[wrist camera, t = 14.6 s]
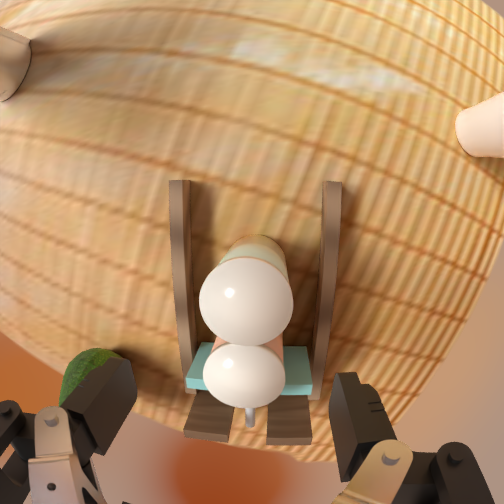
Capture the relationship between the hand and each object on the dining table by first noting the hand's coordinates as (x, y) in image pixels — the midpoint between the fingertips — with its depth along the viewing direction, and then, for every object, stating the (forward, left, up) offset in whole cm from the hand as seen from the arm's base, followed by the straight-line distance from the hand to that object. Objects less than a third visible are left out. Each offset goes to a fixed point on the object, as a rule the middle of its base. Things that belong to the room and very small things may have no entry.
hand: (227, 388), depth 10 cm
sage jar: (0, 0, -18) cm, 18 cm away
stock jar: (+6, 0, -18) cm, 18 cm away
